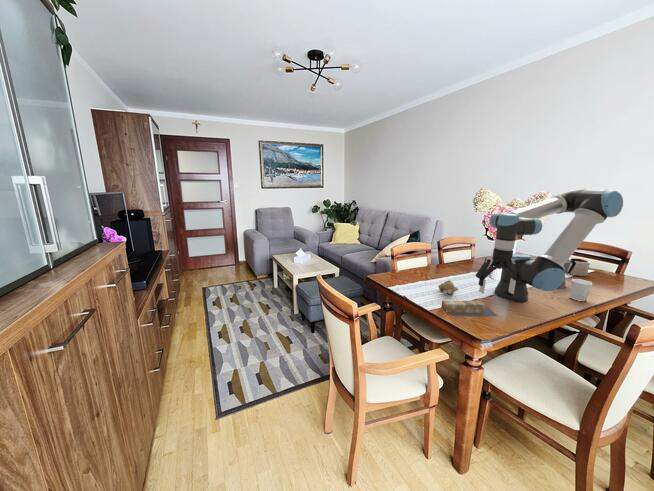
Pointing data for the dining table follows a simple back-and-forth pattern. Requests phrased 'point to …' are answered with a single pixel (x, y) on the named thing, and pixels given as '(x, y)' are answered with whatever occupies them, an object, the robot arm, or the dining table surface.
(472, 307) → the wooden block
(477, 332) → the dining table surface
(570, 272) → the coffeepot
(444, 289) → the turtle figurine
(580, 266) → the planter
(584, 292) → the white cup
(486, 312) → the rubber mat
